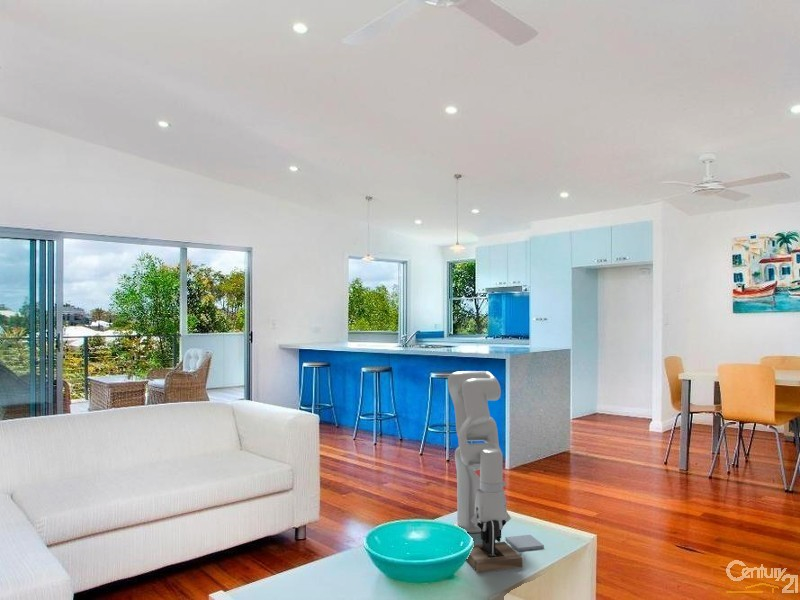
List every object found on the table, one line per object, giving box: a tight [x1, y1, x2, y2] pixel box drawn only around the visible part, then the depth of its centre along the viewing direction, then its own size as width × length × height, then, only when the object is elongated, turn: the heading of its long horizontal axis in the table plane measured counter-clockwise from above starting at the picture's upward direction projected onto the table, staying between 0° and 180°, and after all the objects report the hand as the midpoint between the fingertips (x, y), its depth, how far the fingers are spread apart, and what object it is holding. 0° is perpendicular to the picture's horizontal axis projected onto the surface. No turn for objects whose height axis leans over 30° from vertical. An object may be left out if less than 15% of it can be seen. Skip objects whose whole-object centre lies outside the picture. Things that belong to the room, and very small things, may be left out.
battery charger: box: [481, 520, 500, 557], centre depth 190 cm, size 7×4×11 cm, turn 17°
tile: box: [505, 534, 545, 552], centre depth 203 cm, size 10×10×1 cm
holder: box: [466, 541, 523, 573], centre depth 189 cm, size 14×16×3 cm
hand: (491, 540), depth 190 cm, fingers closed on battery charger, 3 cm apart
